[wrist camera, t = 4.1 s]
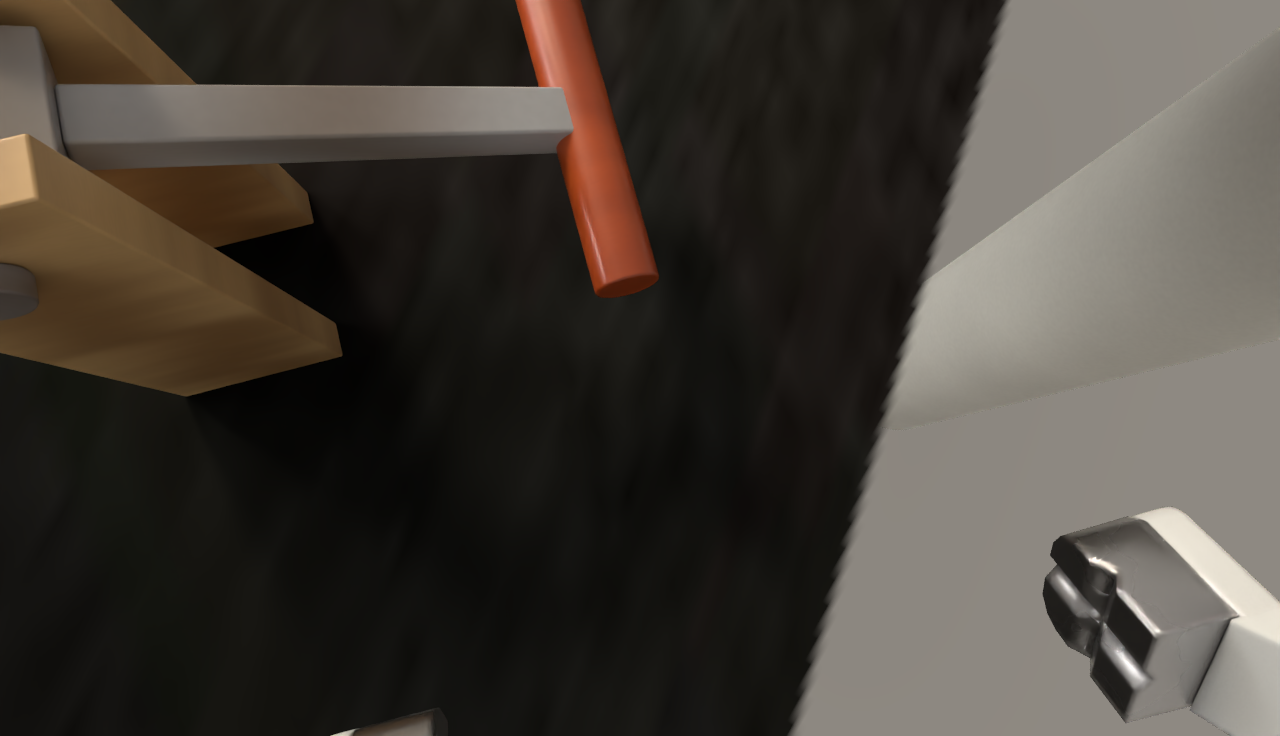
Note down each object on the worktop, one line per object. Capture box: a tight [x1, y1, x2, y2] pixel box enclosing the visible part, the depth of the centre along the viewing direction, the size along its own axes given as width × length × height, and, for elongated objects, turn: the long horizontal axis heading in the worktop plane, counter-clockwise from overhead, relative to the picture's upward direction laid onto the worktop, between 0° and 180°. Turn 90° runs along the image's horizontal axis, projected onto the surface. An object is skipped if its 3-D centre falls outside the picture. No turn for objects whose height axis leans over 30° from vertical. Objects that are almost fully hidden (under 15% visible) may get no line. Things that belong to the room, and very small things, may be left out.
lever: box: [0, 0, 659, 298], centre depth 15 cm, size 13×8×2 cm, turn 105°
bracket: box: [0, 0, 342, 396], centre depth 18 cm, size 12×9×14 cm
